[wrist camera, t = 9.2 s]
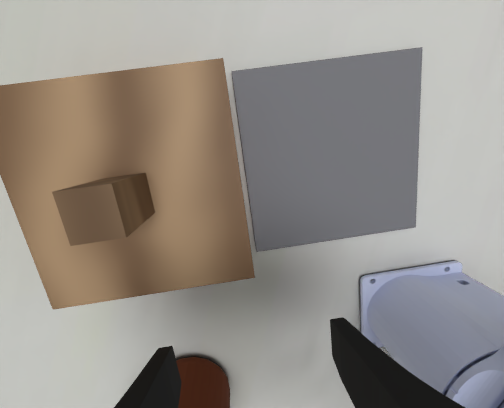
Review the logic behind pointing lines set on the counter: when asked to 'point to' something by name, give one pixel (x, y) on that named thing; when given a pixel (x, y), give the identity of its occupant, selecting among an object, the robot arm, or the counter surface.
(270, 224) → the mat
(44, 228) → the lid
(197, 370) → the bottle
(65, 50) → the counter surface
